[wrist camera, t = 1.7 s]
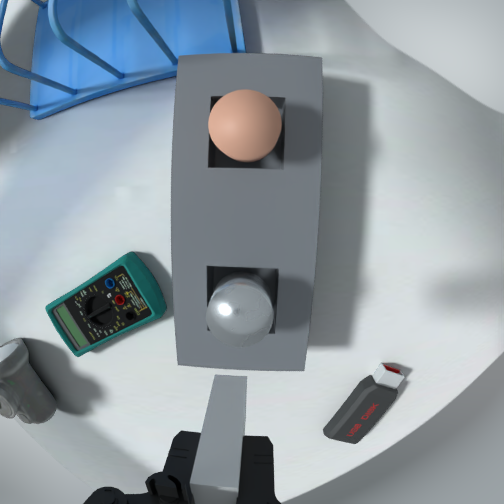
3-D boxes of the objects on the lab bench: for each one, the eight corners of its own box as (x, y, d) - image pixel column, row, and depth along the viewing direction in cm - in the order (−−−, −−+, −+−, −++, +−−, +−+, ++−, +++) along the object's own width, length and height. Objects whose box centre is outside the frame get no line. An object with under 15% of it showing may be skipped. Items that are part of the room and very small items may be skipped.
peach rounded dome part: (217, 103, 24) (210, 89, 20) (279, 104, 24) (282, 90, 20) (214, 162, 25) (206, 158, 21) (277, 163, 25) (280, 160, 21)
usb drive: (322, 427, 36) (325, 441, 33) (374, 359, 34) (381, 371, 31) (352, 435, 36) (357, 448, 34) (404, 370, 34) (412, 382, 31)
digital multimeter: (173, 305, 33) (166, 316, 30) (83, 350, 35) (73, 361, 32) (138, 246, 32) (127, 252, 29) (53, 301, 33) (40, 309, 30)
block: (190, 73, 27) (178, 55, 22) (312, 75, 27) (322, 57, 22) (188, 340, 33) (177, 364, 28) (298, 345, 33) (304, 371, 28)
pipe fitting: (-2, 340, 34) (-36, 377, 25) (29, 331, 34) (-7, 372, 25) (38, 399, 38) (14, 441, 28) (71, 396, 38) (48, 443, 28)
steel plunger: (213, 270, 27) (205, 285, 23) (272, 272, 27) (274, 288, 23) (213, 323, 28) (206, 345, 24) (269, 326, 28) (271, 348, 24)
